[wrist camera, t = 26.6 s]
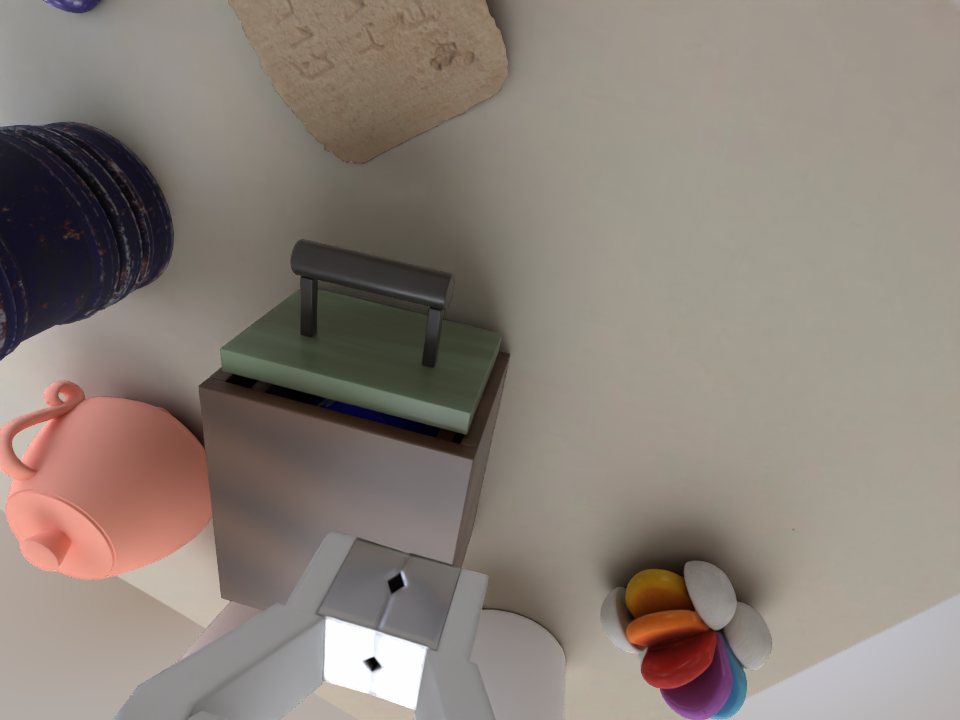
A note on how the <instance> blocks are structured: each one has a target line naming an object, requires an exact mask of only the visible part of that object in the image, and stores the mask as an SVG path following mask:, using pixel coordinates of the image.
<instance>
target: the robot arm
mask: <svg viewBox="0 0 960 720" xmlns="http://www.w3.org/2000/svg"><path fill="white" fill-rule="evenodd" d="M461 569H462V570H461ZM488 582H489V575H486V574H482V573H479V572H475V571H472V570H468V569H465V568H462V567H460V566H457V565H453V564H449V563H446V562H442V561H439V560H435V559H431V558H428V557H424V556H420V555H417V554H413V553H405V552H402V551H399V550H396V549H393V548H390V547H387V546H384V545H381V544H377V543H374V542H371V541H368V540H365V539H362V538H359V537H356V536H352V535H349V534H346V533H342V532H339V531H335V530H332V531H331V532H330V533H329V534H328V535H327V536H326V537H325V538H324V540H323V542H322V544H321V545H320V547H319V549H318V550H317V552H316V554H315V555H314V557H313V559H312V560H311V562H310V564H309V565H308V567H307V569H306V571H305V572H304V574H303V576H302V577H301V579H300V581H299V582H298V584H297V586H296V587H295V589H294V591H293V592H292V594H291V596H290V598H289V599H288V601H287V603H286V604H285V605H284V604H281V603H276V604H274V605H273V606H271V607H269V608H268V609H266V610H264V611H262V612H261V613H259V614H257V615H256V616H254V617H252V618H251V619H249V620H247V621H246V622H244V623H242V624H241V625H239V626H237V627H236V628H234V629H232V630H231V631H229V632H227V633H226V634H224V635H222V636H221V637H219V638H217V639H216V640H214V641H212V642H211V643H209V644H207V645H206V646H204V647H202V648H201V649H199V650H197V651H196V652H194V653H192V654H191V655H189V656H187V657H185V658H184V659H182V660H180V661H179V662H177V663H175V664H174V665H172V666H171V667H169V668H167V669H165V670H164V671H162V672H160V673H159V674H157V675H155V676H154V677H152V678H150V679H149V680H147V681H146V682H144V683H142V684H140V685H139V686H138V687H137V688H136V690H135V691H134V692H133V694H132V695H131V696H130V698H129V699H128V700H127V701H126V703H125V704H124V705H123V707H122V708H121V710H120V711H119V712H118V713H117V715H116V716H115V718H114V719H113V720H280V719H281V718H283V717H284V716H285V715H286V714H287V713H289V712H290V711H291V710H292V709H293V708H295V707H296V706H297V705H298V704H299V703H300V702H301V701H303V700H304V699H305V698H306V697H307V696H309V695H310V694H311V693H312V692H313V691H315V690H316V689H317V688H318V687H319V686H320V685H322V681H326V682H329V683H333V684H336V685H340V686H343V687H347V688H350V689H354V690H357V691H361V692H364V693H368V694H371V695H374V696H377V697H379V698H382V699H385V700H388V701H391V702H394V703H396V704H399V705H402V706H405V707H408V708H411V709H413V710H415V716H416V720H496V719H495V716H494V713H493V710H492V707H491V704H490V701H489V698H488V695H487V692H486V689H485V686H484V683H483V680H482V677H481V674H480V671H479V668H478V664H475V663H472V662H470V661H469V660H470V656H471V652H472V648H473V644H474V640H475V635H476V631H477V627H478V623H479V619H480V615H481V611H482V606H483V602H484V598H485V594H486V590H487V586H488Z"/></svg>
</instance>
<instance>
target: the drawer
mask: <svg viewBox="0 0 960 720" xmlns="http://www.w3.org/2000/svg"><path fill="white" fill-rule="evenodd" d="M291 268H292V271H293V272H294V273H295V274H296V275H300V276H301V277H300V289H299V290H297V291H296V292H295V293H293V294H292V295H291V296H289V297H288V298H287V299H285V300H284V301H283V302H281V303H280V304H279V305H277V306H276V307H275V308H273V309H272V310H271V311H269V312H268V313H267V314H265V315H264V316H263V317H262V318H260V319H259V320H258V321H256V322H255V323H254V324H252V325H251V326H250V327H248V328H247V329H246V330H244V331H243V332H242V333H240V334H239V335H238V336H236V337H235V338H234V339H232V340H231V341H230V342H228V343H227V344H226V345H224V346H223V347H222V348H221V349H220V350H221V362H222V371H224V372H228V373H232V374H236V375H240V376H244V377H247V378H251V379H255V380H259V381H257V382H256V383H255V384H254V385H253V386H252V387H251V388H250V389H254V390H257V391H261V392H265V393H269V394H272V395H276V396H280V397H284V398H288V399H291V400H295V401H299V402H303V403H307V404H310V405H312V404H313V402H314V401H315V400H316V399H317V398H318V397H319V396H320V397H324V398H328V399H331V400H335V401H339V402H343V403H347V404H350V405H354V406H358V407H362V408H366V409H370V410H373V411H377V412H381V413H385V414H389V415H392V416H396V417H400V418H404V419H408V420H412V421H415V422H419V423H423V424H427V425H431V426H434V427H438V428H440V429H439V431H438V434H437V436H436V438H439V439H443V440H447V441H451V442H454V443H458V444H460V443H461V441H462V438H463V436H464V434H465V435H467V433H468V430H469V428H470V425H471V423H472V420H473V418H474V415H475V412H476V410H477V407H478V405H479V402H480V399H481V397H482V394H483V392H484V389H485V386H486V384H487V381H488V379H489V376H490V373H491V371H492V368H493V366H494V363H495V360H496V358H497V355H498V353H499V348H500V344H501V339H502V333H498V332H494V331H490V330H486V329H482V328H477V327H473V326H469V325H465V324H461V323H457V322H453V321H448V320H444V319H443V314H444V310H446V309H447V308H448V306H449V304H450V301H451V298H452V295H453V290H454V283H455V277H454V275H453V274H451V273H447V272H442V271H438V270H434V269H430V268H425V267H421V266H417V265H412V264H408V263H404V262H400V261H395V260H391V259H387V258H382V257H378V256H374V255H370V254H365V253H361V252H357V251H352V250H348V249H344V248H340V247H335V246H331V245H327V244H322V243H318V242H314V241H310V240H305V239H301V240H299V241H298V242H297V243H296V244H295V246H294V248H293V251H292V255H291ZM318 280H321V281H325V282H329V283H334V284H338V285H342V286H346V287H350V288H354V289H359V290H363V291H367V292H371V293H375V294H379V295H384V296H388V297H392V298H396V299H400V300H404V301H408V302H413V303H417V304H421V305H425V306H429V309H428V315H424V314H420V313H415V312H411V311H407V310H403V309H399V308H395V307H391V306H386V305H382V304H378V303H374V302H370V301H366V300H362V299H358V298H353V297H349V296H345V295H341V294H337V293H333V292H329V291H324V290H320V289H318Z"/></svg>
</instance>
